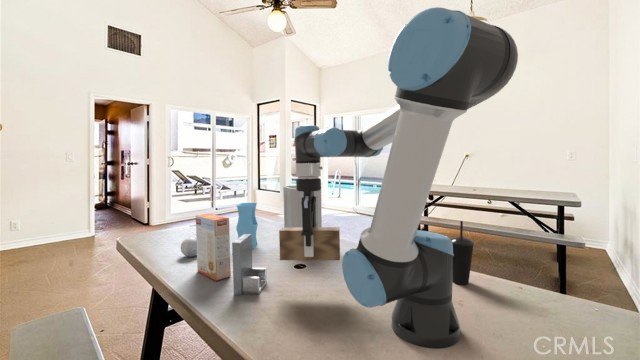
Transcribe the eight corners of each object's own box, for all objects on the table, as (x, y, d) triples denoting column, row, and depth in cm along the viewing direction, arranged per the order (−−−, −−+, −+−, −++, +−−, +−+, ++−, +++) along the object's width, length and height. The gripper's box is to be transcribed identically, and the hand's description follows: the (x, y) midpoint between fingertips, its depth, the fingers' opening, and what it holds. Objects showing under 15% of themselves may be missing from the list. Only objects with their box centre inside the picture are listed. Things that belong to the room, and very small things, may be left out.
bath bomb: (203, 256, 123) (202, 238, 122) (182, 260, 118) (181, 241, 118) (199, 252, 129) (198, 234, 129) (179, 255, 125) (178, 237, 124)
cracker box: (232, 276, 101) (230, 217, 100) (215, 282, 97) (213, 220, 95) (212, 267, 111) (210, 212, 109) (197, 271, 106) (194, 215, 105)
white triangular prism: (297, 238, 149) (296, 184, 147) (322, 242, 141) (321, 185, 139) (273, 248, 133) (271, 187, 131) (300, 254, 125) (298, 189, 123)
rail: (340, 255, 91) (339, 227, 90) (339, 260, 86) (339, 230, 86) (283, 255, 92) (282, 227, 92) (280, 260, 88) (279, 230, 87)
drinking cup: (472, 289, 89) (474, 225, 88) (445, 283, 93) (446, 222, 92) (474, 280, 96) (476, 220, 95) (449, 275, 100) (450, 218, 99)
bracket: (257, 295, 87) (256, 243, 86) (233, 294, 88) (232, 242, 86) (267, 281, 97) (266, 234, 96) (245, 281, 97) (244, 234, 96)
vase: (254, 248, 134) (252, 205, 132) (237, 248, 134) (235, 205, 132) (258, 243, 141) (256, 202, 140) (241, 243, 142) (240, 202, 140)
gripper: (317, 179, 79) (319, 263, 80) (323, 176, 96) (325, 245, 98) (290, 179, 80) (292, 263, 81) (301, 176, 97) (303, 245, 98)
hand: (310, 253), depth 89 cm, fingers closed on rail, 5 cm apart
